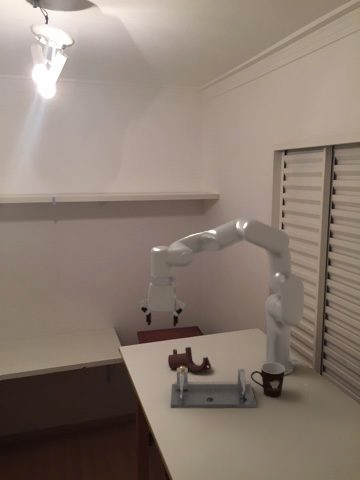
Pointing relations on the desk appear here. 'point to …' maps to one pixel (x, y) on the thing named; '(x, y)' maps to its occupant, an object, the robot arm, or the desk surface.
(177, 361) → the bracket
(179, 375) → the sliding leg
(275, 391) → the coffee mug
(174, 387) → the bolt plate and beam
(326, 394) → the desk surface
